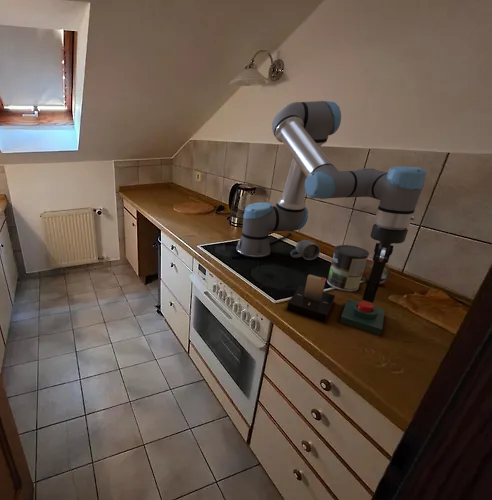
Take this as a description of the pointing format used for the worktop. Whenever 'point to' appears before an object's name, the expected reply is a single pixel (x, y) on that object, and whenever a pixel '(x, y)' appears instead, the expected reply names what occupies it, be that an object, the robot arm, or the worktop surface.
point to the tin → (368, 268)
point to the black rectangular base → (311, 305)
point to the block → (363, 317)
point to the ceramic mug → (306, 250)
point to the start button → (365, 306)
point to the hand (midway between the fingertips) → (367, 300)
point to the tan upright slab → (314, 288)
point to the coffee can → (347, 267)
